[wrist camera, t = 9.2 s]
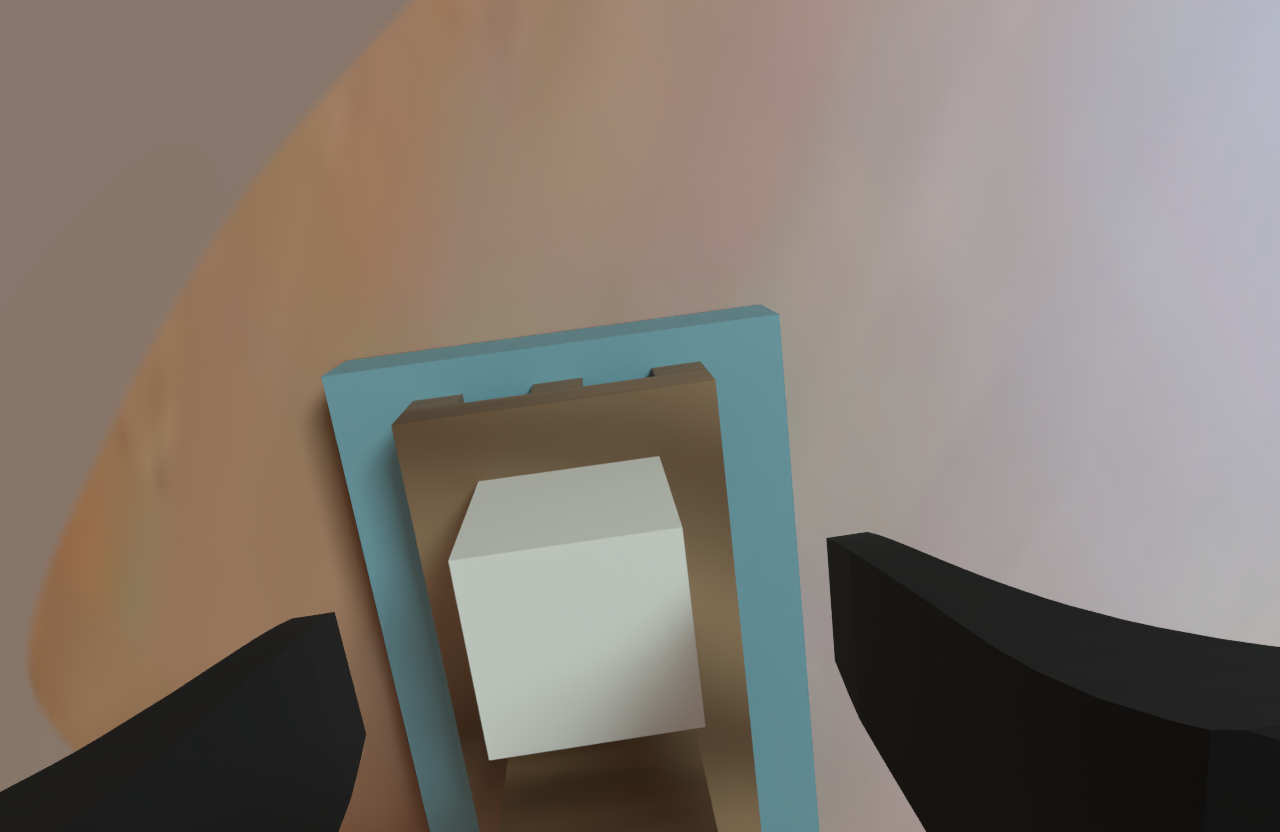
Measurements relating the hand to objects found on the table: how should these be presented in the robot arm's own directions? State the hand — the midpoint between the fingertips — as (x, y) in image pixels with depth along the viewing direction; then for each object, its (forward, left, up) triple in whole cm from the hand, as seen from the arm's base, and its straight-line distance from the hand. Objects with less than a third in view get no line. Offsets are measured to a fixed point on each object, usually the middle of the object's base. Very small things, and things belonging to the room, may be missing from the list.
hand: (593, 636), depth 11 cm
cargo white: (-1, 0, -6) cm, 6 cm away
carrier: (-7, 0, -8) cm, 11 cm away
